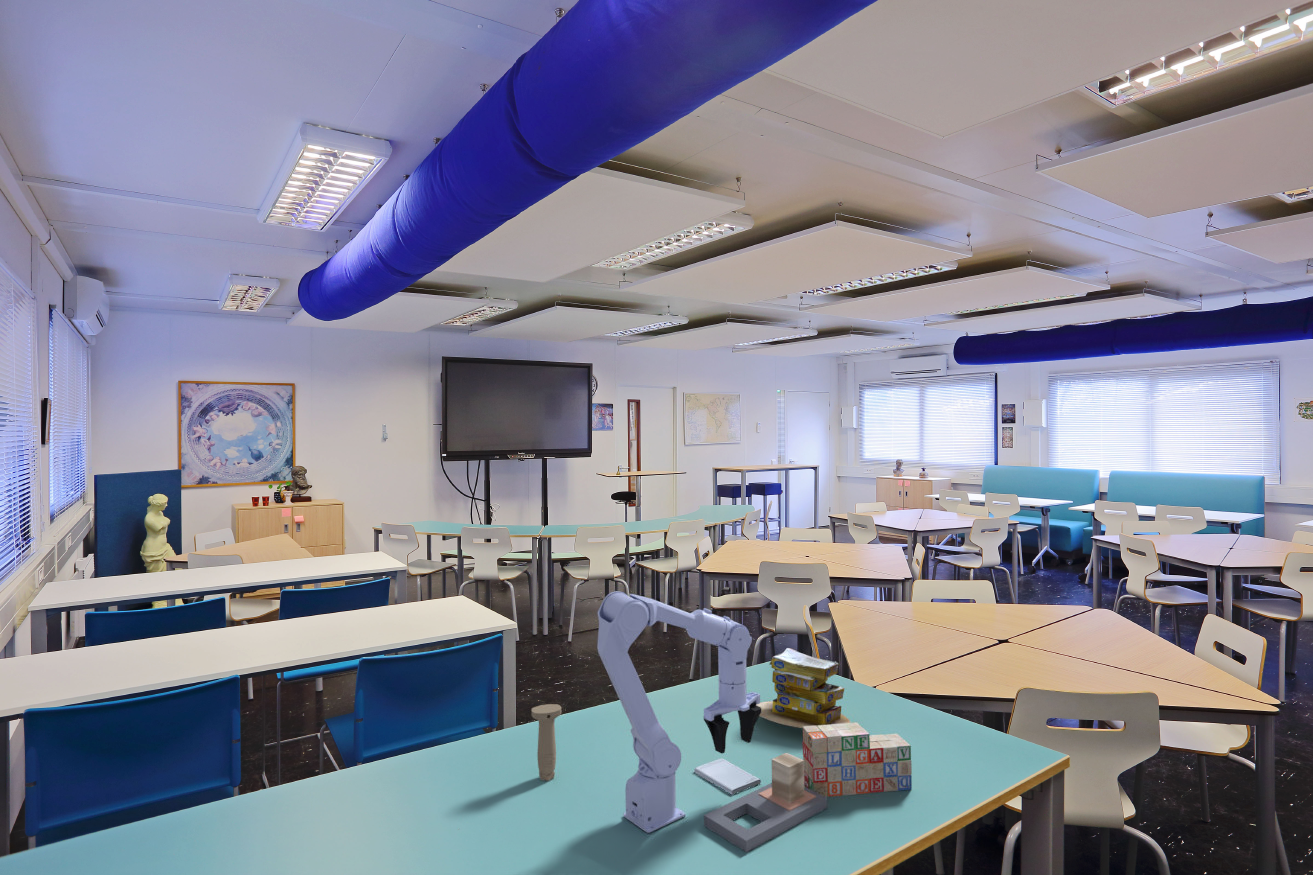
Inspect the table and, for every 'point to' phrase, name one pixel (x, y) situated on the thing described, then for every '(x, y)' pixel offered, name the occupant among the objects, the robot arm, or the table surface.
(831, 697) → the stack of yellow boxes
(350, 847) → the table surface
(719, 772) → the hard drive
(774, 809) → the kitting board
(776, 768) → the maple block
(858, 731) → the stack of blocks
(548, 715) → the handle
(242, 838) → the table surface
